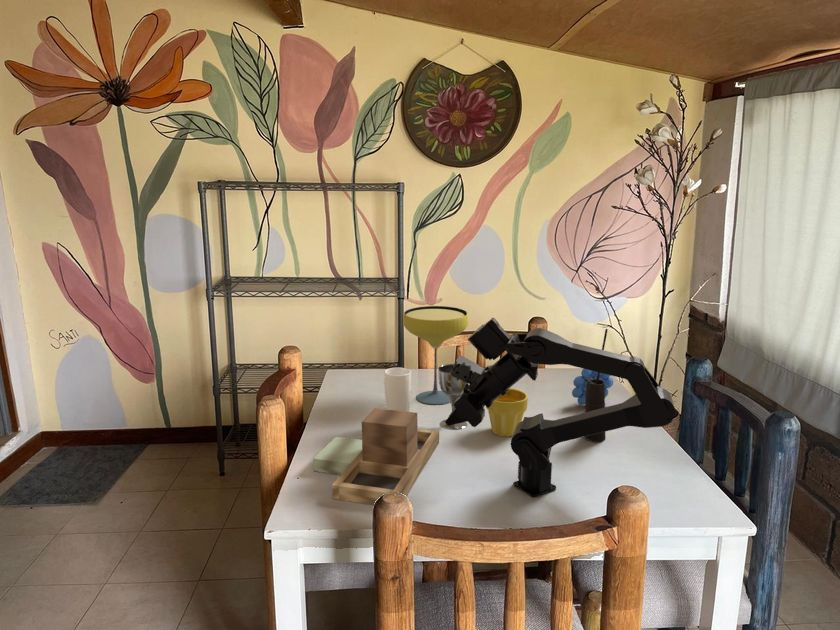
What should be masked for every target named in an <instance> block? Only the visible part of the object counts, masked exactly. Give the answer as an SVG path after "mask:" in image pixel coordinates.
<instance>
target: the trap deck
mask: <svg viewBox="0 0 840 630" xmlns="http://www.w3.org/2000/svg"><path fill="white" fill-rule="evenodd" d="M417 443H418V451H417V452H416V454H415V455H414V457H413V458H412V460H411V461H410V463H409V464H408V466H399V465H391V464H384V463H376V462H369V461H363V458H362V439H358V438H350V437H349V438H348V437H341V436H334V437H333V438H332V439H331V441H329V442H328V443H327V444H326V446H324V448H323V449H321V450H320V452H318V454H317V455H316V456H315V457H314V458H313V472H315V471H318V472H317V473H322V472H326V473H325V474H330V473H333V474H332V475H337V474H339V475H338V477H337V479H336V480H335V481H334V482H333V483H331V498H332V499H333V500H339V501H340V500H341V501H346V502H353V503H359V504H365V505H372V506H374V505H373V504H374V503H375V501H376V500H377V499H378V498H379V497H381V496H382V495H383V494H385V493H388V492H399V493H402V494H404V495H406V497H407V496H408V494H409V493H410V491H411V490H412V488H413V486H414V485H415V483H416V482H417V480H418V478H419V476H420V475H421V474H422V472H423V470H424V468H425V466H426V465H427V464H428V462H429V460H430V459H431V457H432V455H433V454H434V452H435V450H436V449H437V447H438V446H439V444H440V431H439V430H433V429H431V430H430V429H424V428H417Z"/></svg>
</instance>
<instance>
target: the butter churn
mask: <svg viewBox="0 0 840 630" xmlns="http://www.w3.org/2000/svg"><path fill="white" fill-rule="evenodd" d="M607 334H608V328H606V329H605V331H604V336H603V337H604V338H603V341H602V346H601V350H604V351H605V345H606V340H607V336H608V335H607ZM599 375H600V373H599V372H598V374H597V379H596V380H589V379H588V378H585V381H587V385H586V398H585V404H584V413H585V412H589V411H593V410H597V409H601V408H605V407H606V398H605V382H604V381H603V380H599ZM584 438H585V439H586V440H587V441H589V442H593V443H601V442H604V441H606V432H602V433H597V434H593V435H589V436H585V437H584Z"/></svg>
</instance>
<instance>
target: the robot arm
mask: <svg viewBox="0 0 840 630" xmlns="http://www.w3.org/2000/svg"><path fill="white" fill-rule="evenodd" d="M467 340H468V342H470V344H471V345H472V346H473V347H474V348H475V349H476V350H477V351H478V352H479V353H480V355H481V356H482V357H483V358H484V359H485V360H489V361H491V360H493V361H496V359H497V361H496V362H494V363H493V364H490V365H487V366H485V367H484V368H483V367H482V366H480V365H479V364H478V363H476V362H474V361H472V360H471V359H469V358H467V357H466V356H463V355H459V356H458V357H457V359H456V360H455V362H454V363H453V364H454V366H453V368H452V370H451V372H450V374H451V375H452V376H453V377H457V378H458V379H460V380H462V381H464V382H466V383H468V384H466V385H465V387H464V392H463V393H462V394H461V395H460V394H459V396H458V397H457V399H456V400H455V402H454V403H453V405H454V407H455V408H454V410H453V411H452V410H451V412H450V414H449V415H448V417H447V418H446V419H447V420H446V421H445V423H446V424H447V425H448V426H450V425H454V424H458V423H463V422H467V423H468V424H470V426H471V427H473V428H476V427H477V426H478V425H480V424H481V423H482V422H483V420H484V418H485V417H486V409H487V408H489V407H490V406H491V405H492V403H493V401H495V400H496V399H497V398H498V397H499V396H501V395H502V396H503V395H505V394H506V393H507V390H508V389H509V388H512V387H513V386H514V385H515V384H516V383H518V382H519V381H520V380H522V378H524V377H525V376H526V375H528V376H529V378H530V379H531V380H532V381H536V380H537V377H538V373H539V372H538V369H539V367H540V365H546V366H555V365H556V366H557V365H568V366H572V367H575V368H580V369H582V370H583V369H587V370H591V371H595V372H599V373H603V374H607V375H611V376H612V377H616V378H619V379H620V378H621V379H624V380H626V381H627V382H628V383H629V385H630V386H631V388H632V390H633V392H634V395H632V396H631V397H629V398H628V399H626V400H624V401H623V402H620V403H617V404H613V405H609V406H605V408H601V409H597V410H593V411H589V412H585V411H584V412H582V413H578V414H574V415H569V416H566V417H563V418H562V417H561V418H558V419H553V420H551V419H545V418H544V413H538V414H536V415H534V416H523V418H522V421H521V422H520V423H518V425H517V426H516V428H515V431H514V433H513V436H511V439H510V448H511V450H512V452H513V453H514V454H515V455H516V456H517V457H518V459H519V461H518V465H517V466H518V467H517V470H518V471H517V479H518V480H516V481H514V482H513V483H512V485H513V486H515V488H517V489H519V490H520V491H522V492H524V493H525V494H527V495H528V496H530V497H533V498H535V497H539V496H541V495H544V494H546V493H549V492H551V491H554V490H557V486H556V485H555V484H553V483H552V470H553V464H552V462H551V460H550V457H551V453H552V452H551V451H552V448H553V447H555V446H556V445H558V444H559V443H563V442H564V443H565V442H567V441H573V440H575V439H576V440H577V439H581V438H585V436H589V435H593V434H597V433H602V432H605V433H607V432H608V431H613V430H618V429H621V428H625V427H636V428H643V429H650V428H651V429H652V428H660V427H666V426H668V425H670V424H672V421H674V419H675V416H676V408H675V404H674V399H673V396H672V395H671V393H670V391H668V390H667V389H665V388H663V387H662V386H660V385H659V384H658V382H657V380H656V379H655V378H654V376H653V375H652V374H651V373H650V371H649V370H648V369H647V367H646V365H645V363H644V360H642V359H641V358H640V357H638V356H629V355H625V354H620V353H617V352H612V351H609V350H605V349H604V350H602V349H600V348H596V347H592V346H588V345H583V344H580V343H579V344H578V343H576V342H572V341H569V340H567V339H565V338H564V337H562V336H561V335H559V334H557V333H555V332H553V331H550V330H547V329H545V328H541V327H540V328H539V327H537V328H533V329H532V330H530V331H529V332H525V333H512V334H511V335H509V334H508V332H507V331H506V330H504V328H503V326H501V325H500V324H499V321H498V320H497V319H496V318H495V317H491V318H490V319H489V320H488V321H487V322H485V323H484V324H482V325H480V326H479V327H478V328H477V329H476V330H475V331H474V332H473V333H471V335H470V336H469V337H468V338H467ZM504 352H506V353H505V354H504V355H503V356H501V355H502V354H503V353H504ZM500 356H501V357H500ZM499 357H500V358H499ZM498 358H499V359H498ZM611 376H610V377H611ZM486 407H487V408H486Z"/></svg>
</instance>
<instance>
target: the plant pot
mask: <svg viewBox="0 0 840 630" xmlns="http://www.w3.org/2000/svg"><path fill="white" fill-rule="evenodd" d="M528 401H529V397H528V394H527V393H526V392H525V391H523V390H520V389H517V388H512V387H510V388H509V389H508V390H507V393H506V394H505V395H503V396H502V395H501V396H499V397H498V398H497V399H496V400H495V401H493V403H492V405H491V406H490V407H489V408H487V407H486V406H485V409H487V411H488V416H489V423H490V427H491V432H492V433H493V434H495V435H496V436H499V437H506V438H507V437H512V436H513V433H514V431H515V428H516V426H517V425H518V423H520V422H521V421H523V418H524V414H525V412H526V411H527V410H528Z"/></svg>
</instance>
